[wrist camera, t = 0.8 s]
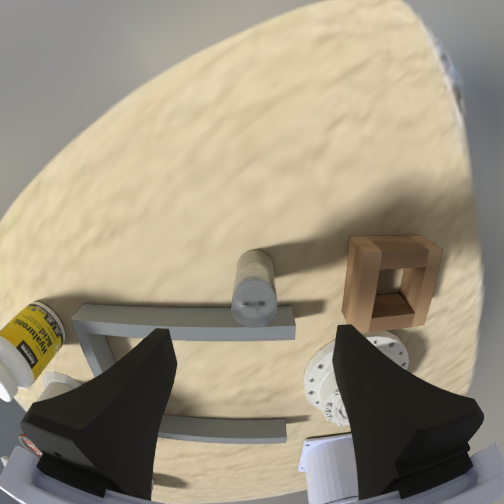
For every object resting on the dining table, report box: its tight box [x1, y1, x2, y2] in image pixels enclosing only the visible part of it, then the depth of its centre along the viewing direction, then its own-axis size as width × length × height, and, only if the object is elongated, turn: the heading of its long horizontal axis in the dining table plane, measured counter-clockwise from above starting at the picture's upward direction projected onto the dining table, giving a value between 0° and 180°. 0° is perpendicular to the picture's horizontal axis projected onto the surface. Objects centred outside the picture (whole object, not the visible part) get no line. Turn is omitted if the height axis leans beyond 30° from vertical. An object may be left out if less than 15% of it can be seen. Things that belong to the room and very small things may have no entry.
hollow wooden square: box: [342, 235, 443, 333], centre depth 18 cm, size 6×6×3 cm
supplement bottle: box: [0, 302, 65, 402], centre depth 18 cm, size 5×5×10 cm
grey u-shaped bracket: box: [70, 304, 296, 444], centre depth 23 cm, size 15×17×2 cm
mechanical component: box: [303, 331, 409, 427], centre depth 22 cm, size 10×4×10 cm
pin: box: [231, 250, 278, 328], centre depth 17 cm, size 2×2×6 cm
